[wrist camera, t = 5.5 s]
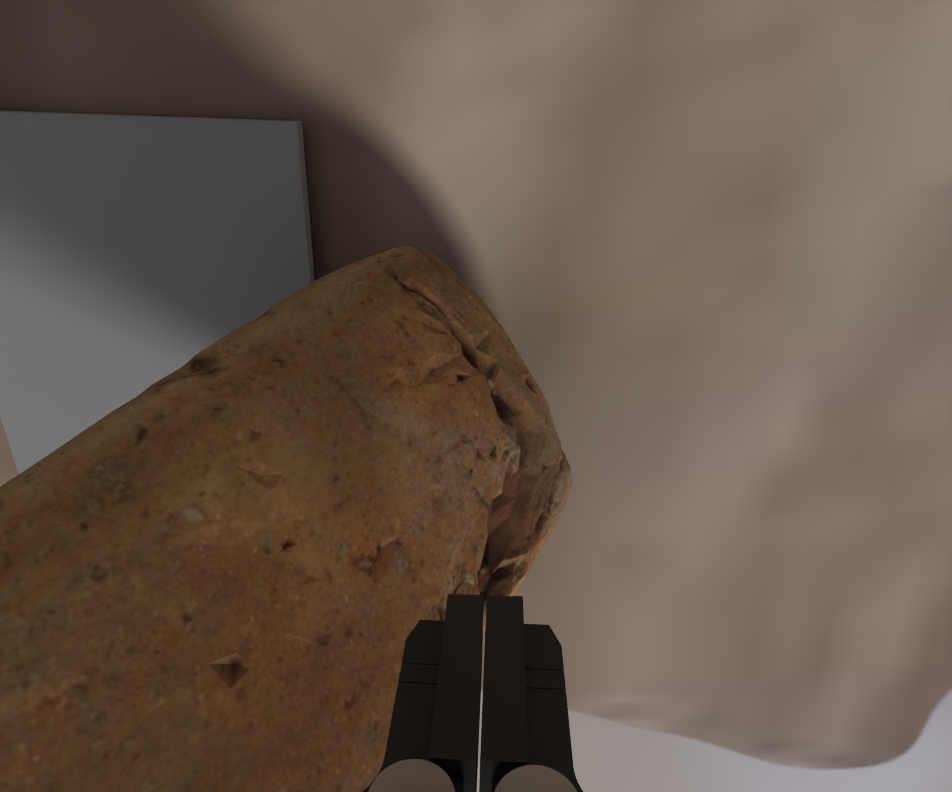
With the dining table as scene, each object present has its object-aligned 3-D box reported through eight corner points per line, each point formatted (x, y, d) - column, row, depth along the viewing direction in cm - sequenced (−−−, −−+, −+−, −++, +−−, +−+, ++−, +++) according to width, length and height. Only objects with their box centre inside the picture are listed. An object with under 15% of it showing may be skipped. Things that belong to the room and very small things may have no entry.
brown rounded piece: (313, 302, 25) (-488, 820, 11) (434, 197, 20) (-796, 926, 6) (481, 519, 27) (-11, 1192, 13) (630, 476, 22) (83, 1520, 8)
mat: (-86, 107, 22) (-101, 108, 21) (302, 120, 22) (296, 122, 21) (33, 484, 29) (24, 493, 28) (332, 499, 28) (328, 508, 28)
